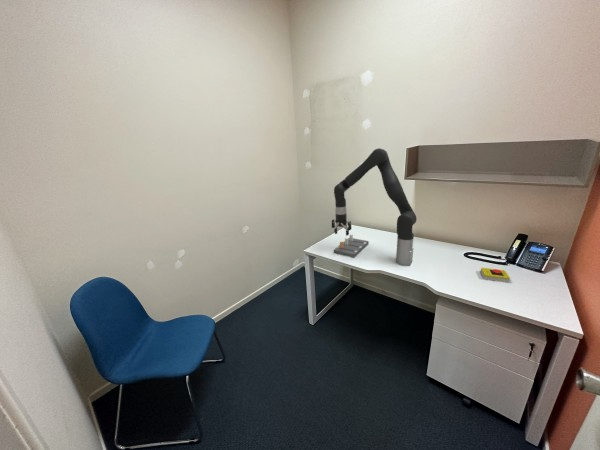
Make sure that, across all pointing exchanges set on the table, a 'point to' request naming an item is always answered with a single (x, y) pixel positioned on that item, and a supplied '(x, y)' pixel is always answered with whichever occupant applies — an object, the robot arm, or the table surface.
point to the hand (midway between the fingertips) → (341, 234)
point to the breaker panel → (351, 247)
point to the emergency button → (493, 275)
